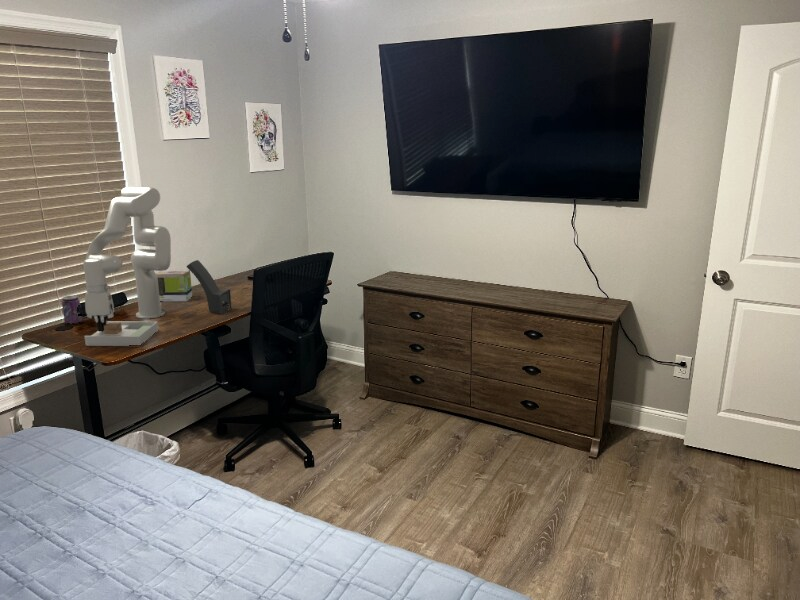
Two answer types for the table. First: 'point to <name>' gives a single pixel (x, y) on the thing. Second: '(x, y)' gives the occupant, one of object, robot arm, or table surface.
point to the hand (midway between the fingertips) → (102, 330)
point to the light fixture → (211, 289)
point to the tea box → (174, 285)
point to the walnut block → (113, 328)
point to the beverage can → (71, 309)
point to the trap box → (124, 334)
